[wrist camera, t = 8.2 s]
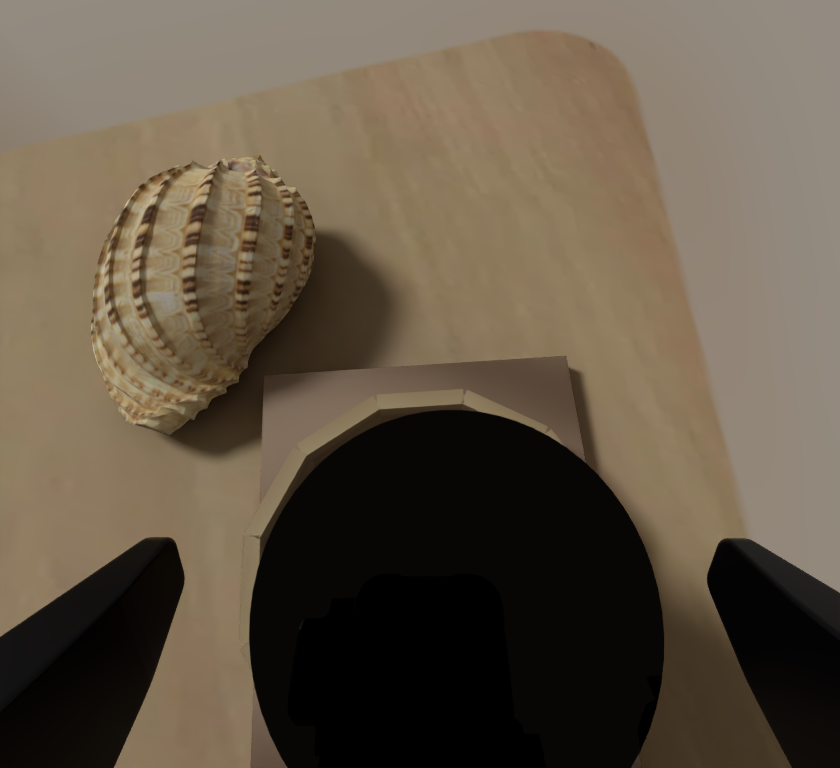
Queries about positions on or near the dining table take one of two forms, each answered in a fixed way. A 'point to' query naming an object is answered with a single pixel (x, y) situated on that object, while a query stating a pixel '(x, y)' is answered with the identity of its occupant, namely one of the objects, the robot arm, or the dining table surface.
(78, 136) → the dining table surface
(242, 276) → the seashell
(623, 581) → the supplement container
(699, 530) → the dining table surface
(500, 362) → the collar board
